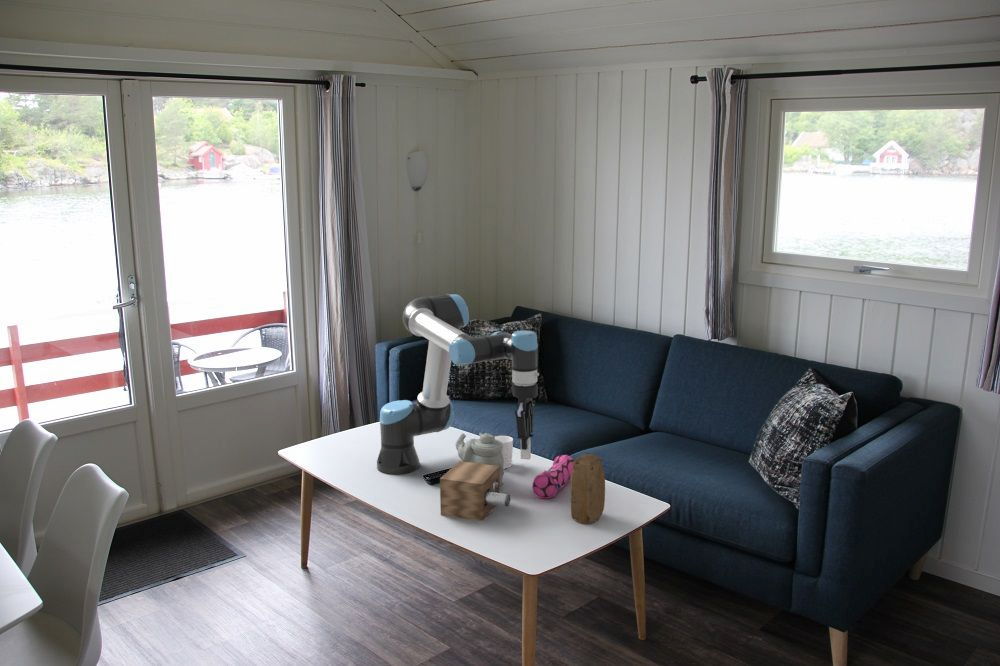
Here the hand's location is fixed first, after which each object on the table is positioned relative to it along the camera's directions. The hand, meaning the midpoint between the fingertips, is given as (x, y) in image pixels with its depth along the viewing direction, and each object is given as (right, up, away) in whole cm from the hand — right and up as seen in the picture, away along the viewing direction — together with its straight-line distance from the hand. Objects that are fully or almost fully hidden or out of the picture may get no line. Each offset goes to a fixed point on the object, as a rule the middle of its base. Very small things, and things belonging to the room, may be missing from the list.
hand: (525, 458), depth 261 cm
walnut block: (-17, -18, +12) cm, 27 cm away
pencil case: (+11, -15, +28) cm, 33 cm away
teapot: (-15, -13, +33) cm, 39 cm away
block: (+19, -19, +5) cm, 28 cm away
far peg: (-15, -13, +15) cm, 25 cm away
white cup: (-7, -10, +49) cm, 50 cm away
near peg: (-12, -15, +6) cm, 20 cm away
